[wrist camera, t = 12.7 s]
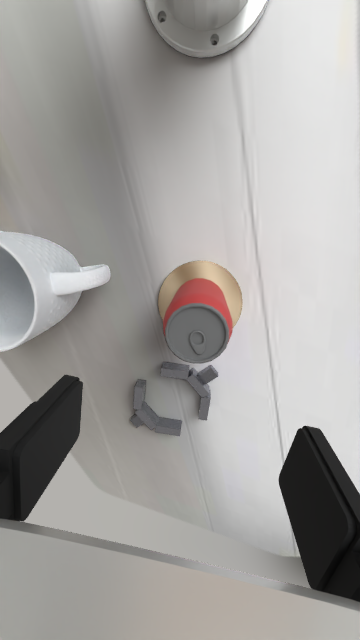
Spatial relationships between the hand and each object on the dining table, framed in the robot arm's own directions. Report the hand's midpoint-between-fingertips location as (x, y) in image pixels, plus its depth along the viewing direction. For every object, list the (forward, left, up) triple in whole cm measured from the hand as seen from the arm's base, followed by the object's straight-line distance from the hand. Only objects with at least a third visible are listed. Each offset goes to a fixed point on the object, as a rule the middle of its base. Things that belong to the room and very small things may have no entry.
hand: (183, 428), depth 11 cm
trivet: (0, 0, -24) cm, 24 cm away
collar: (+12, +9, -24) cm, 29 cm away
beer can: (0, 0, -24) cm, 24 cm away
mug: (+12, -14, -24) cm, 30 cm away
